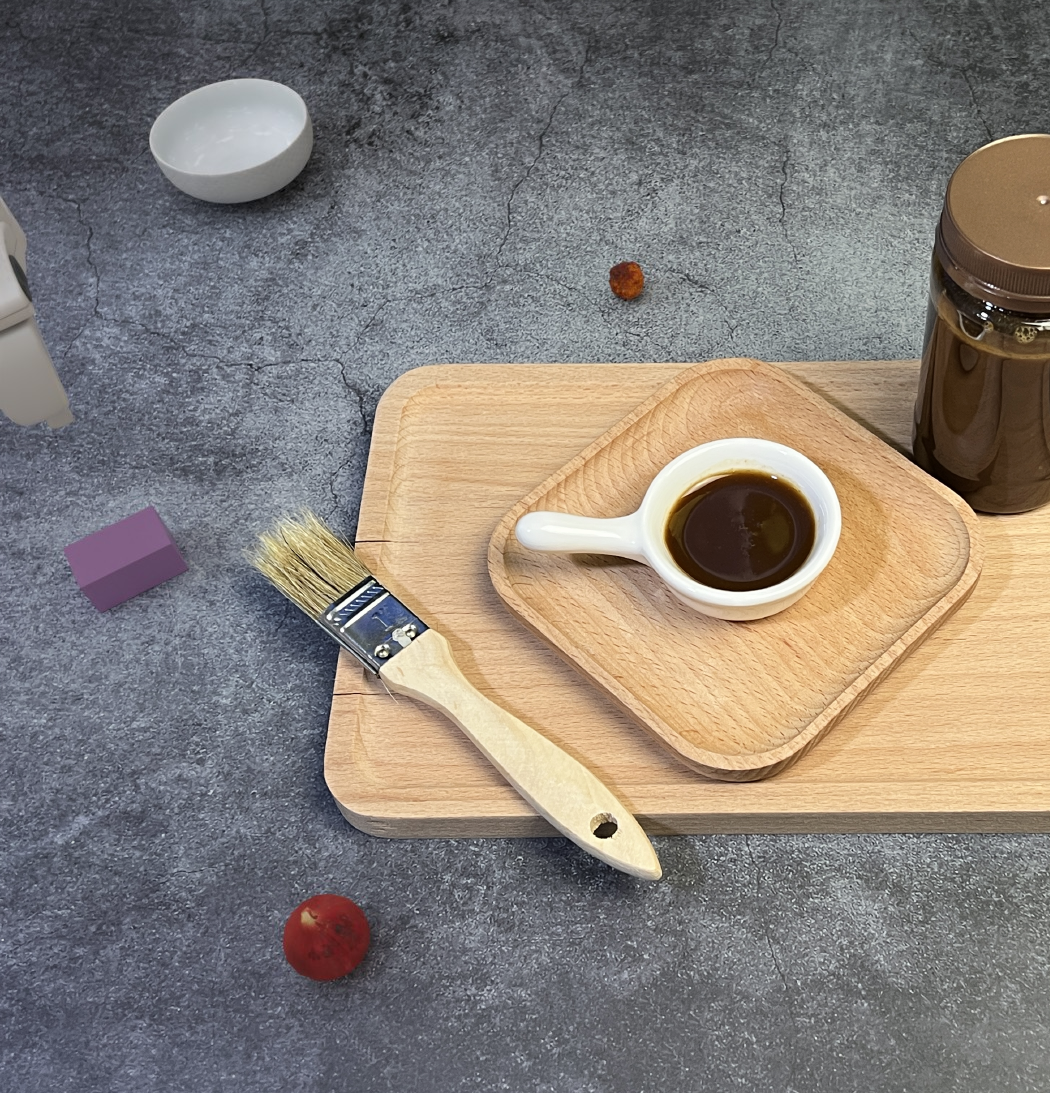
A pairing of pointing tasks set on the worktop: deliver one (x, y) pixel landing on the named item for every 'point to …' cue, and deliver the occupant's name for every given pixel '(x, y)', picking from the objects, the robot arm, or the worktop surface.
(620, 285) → the meatball
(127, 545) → the block
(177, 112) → the cereal bowl
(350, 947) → the red rounded lump
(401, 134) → the worktop surface
